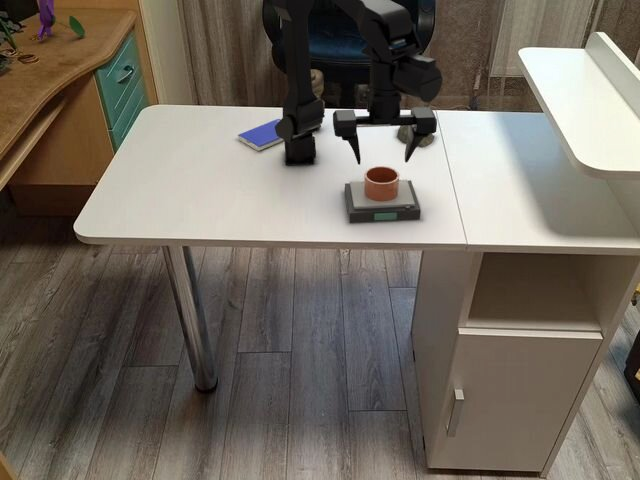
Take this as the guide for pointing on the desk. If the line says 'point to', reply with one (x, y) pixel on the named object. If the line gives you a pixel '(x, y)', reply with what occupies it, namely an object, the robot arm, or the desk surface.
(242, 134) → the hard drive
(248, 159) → the desk surface
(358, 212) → the scale
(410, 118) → the robot arm
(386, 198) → the bowl
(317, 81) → the light bulb
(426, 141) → the sword in stone
